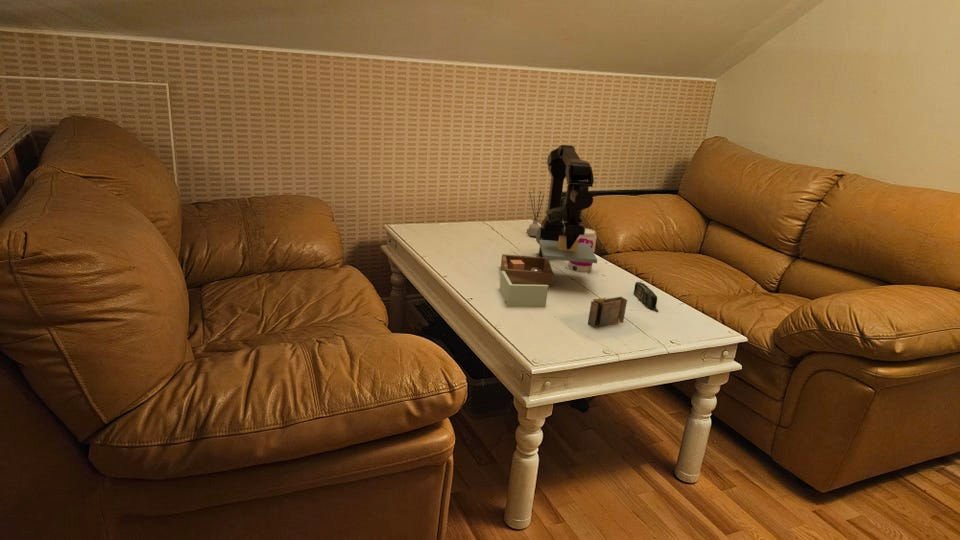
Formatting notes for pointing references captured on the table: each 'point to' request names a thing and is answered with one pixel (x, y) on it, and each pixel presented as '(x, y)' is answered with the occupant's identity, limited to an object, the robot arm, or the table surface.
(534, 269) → the grey metal cylinder
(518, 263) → the terracotta cube
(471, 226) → the table surface
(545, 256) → the lid
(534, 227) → the reed diffuser
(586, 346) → the table surface
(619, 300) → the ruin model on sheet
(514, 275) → the box
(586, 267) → the supplement can
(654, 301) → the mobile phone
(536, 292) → the right angle wall
